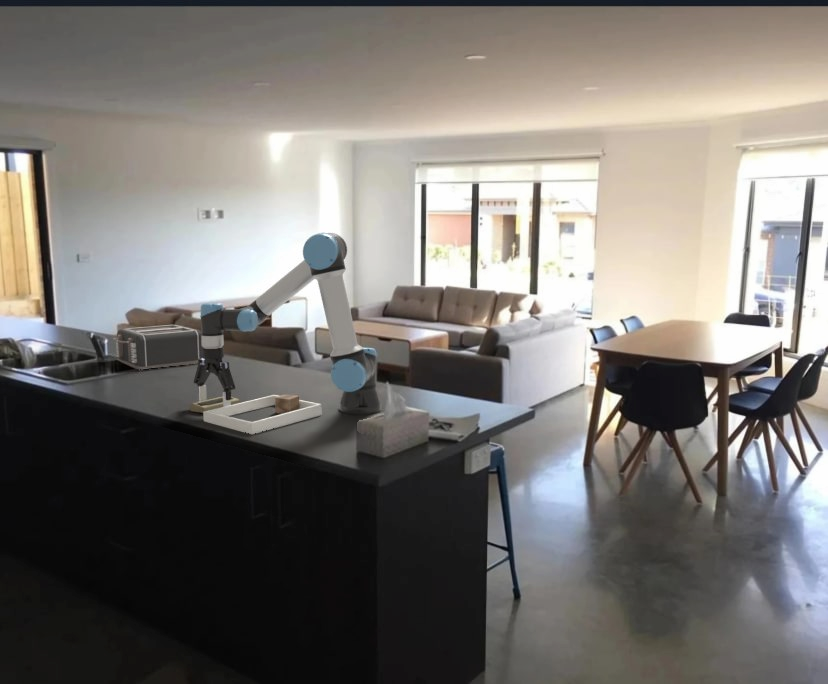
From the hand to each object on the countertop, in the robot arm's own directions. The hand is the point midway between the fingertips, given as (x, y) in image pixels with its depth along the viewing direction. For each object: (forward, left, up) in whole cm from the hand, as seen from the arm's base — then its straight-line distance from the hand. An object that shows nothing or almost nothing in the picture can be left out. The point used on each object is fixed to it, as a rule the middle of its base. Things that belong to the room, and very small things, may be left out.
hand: (214, 406), depth 261 cm
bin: (-21, -4, -2) cm, 21 cm away
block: (-21, -15, -2) cm, 26 cm away
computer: (-2, -1, -3) cm, 3 cm away
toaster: (+94, -41, -3) cm, 103 cm away
